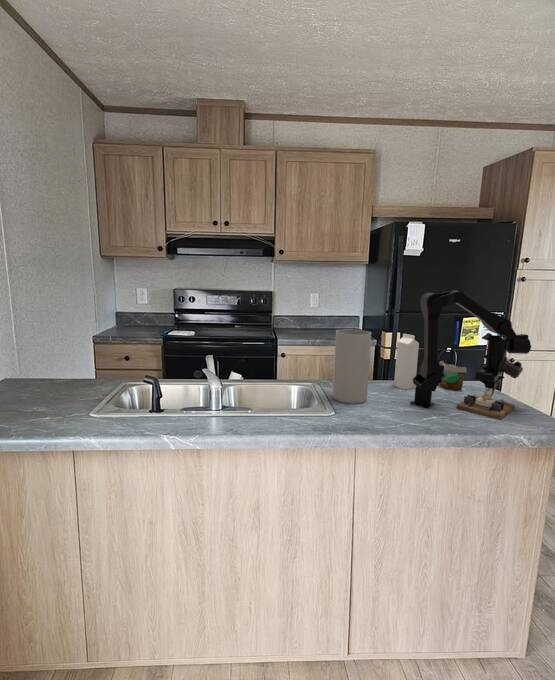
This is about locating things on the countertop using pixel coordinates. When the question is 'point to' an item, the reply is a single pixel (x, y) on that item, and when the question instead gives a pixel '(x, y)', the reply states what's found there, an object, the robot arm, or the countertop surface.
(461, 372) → the food container
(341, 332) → the cylinder vase
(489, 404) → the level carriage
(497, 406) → the stand
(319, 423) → the countertop surface
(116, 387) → the countertop surface
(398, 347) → the milk
